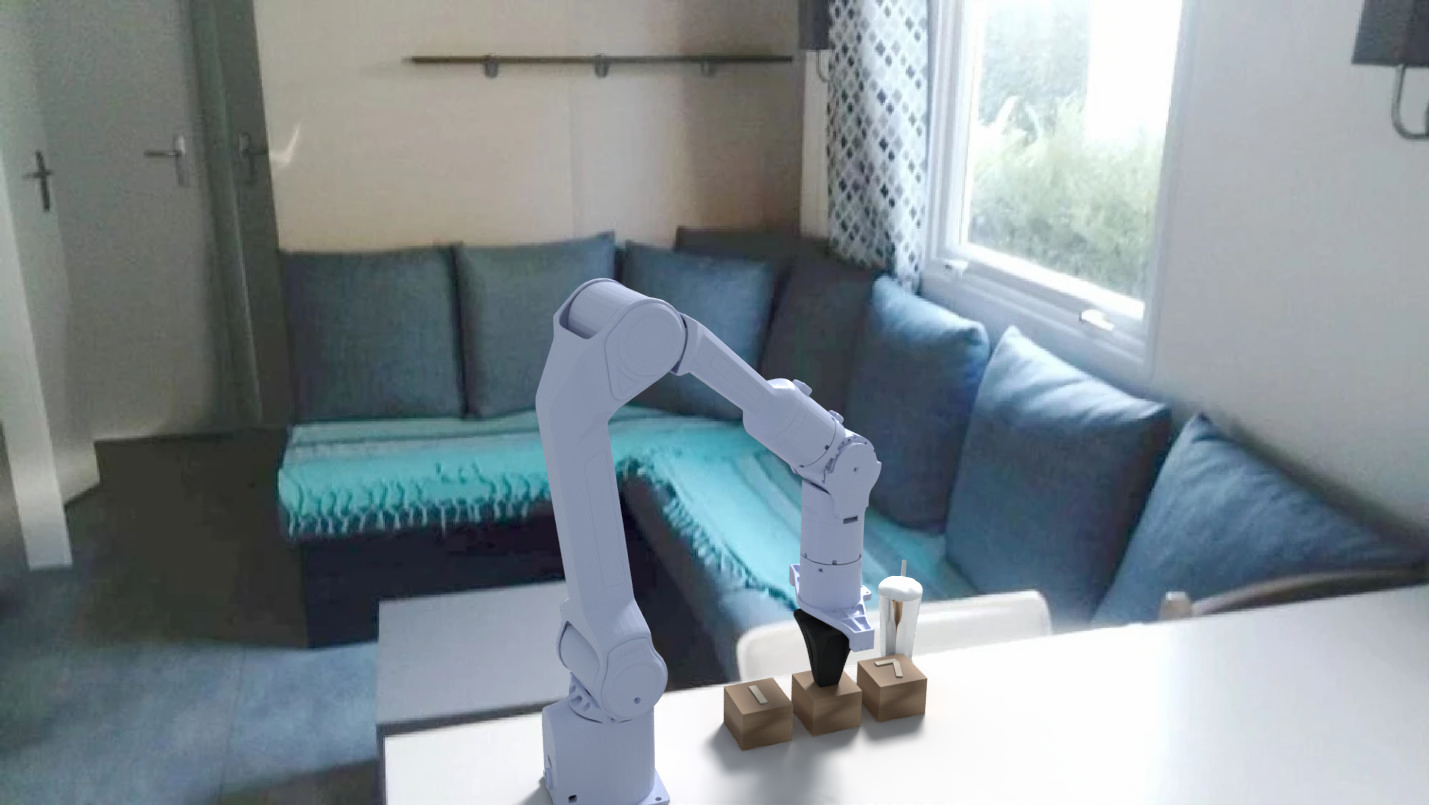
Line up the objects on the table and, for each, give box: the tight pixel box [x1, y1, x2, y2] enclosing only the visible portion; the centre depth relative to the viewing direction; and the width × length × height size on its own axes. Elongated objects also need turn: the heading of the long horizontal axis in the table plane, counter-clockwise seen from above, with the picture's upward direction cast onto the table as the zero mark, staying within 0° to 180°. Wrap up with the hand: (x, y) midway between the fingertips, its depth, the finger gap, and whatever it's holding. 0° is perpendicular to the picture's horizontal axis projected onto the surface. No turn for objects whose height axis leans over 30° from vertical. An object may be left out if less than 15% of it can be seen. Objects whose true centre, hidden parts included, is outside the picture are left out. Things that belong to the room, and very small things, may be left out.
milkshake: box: [877, 559, 924, 662], centre depth 120 cm, size 4×5×10 cm
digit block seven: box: [855, 653, 928, 724], centre depth 112 cm, size 5×5×4 cm
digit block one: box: [723, 677, 794, 752], centre depth 108 cm, size 5×5×4 cm
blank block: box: [790, 669, 863, 738], centre depth 110 cm, size 5×5×4 cm
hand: (826, 682), depth 109 cm, fingers closed
